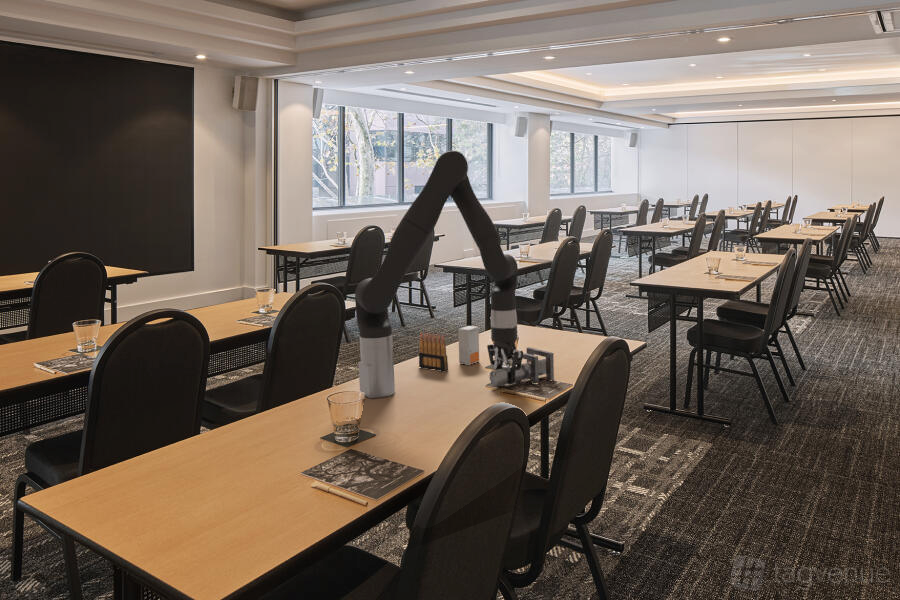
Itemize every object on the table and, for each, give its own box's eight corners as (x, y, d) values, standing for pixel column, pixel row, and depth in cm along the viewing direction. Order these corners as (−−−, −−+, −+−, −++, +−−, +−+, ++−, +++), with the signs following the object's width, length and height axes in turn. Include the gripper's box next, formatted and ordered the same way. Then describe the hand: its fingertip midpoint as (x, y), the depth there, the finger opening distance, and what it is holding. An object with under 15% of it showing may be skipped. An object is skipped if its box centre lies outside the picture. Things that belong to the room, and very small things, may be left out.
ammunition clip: (419, 367, 240) (417, 331, 238) (422, 366, 241) (420, 330, 239) (444, 372, 233) (443, 335, 231) (448, 370, 235) (446, 333, 233)
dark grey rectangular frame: (550, 381, 218) (550, 353, 216) (527, 374, 226) (526, 347, 225) (553, 380, 218) (553, 353, 217) (530, 373, 227) (529, 347, 226)
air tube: (499, 387, 210) (499, 371, 210) (489, 384, 214) (489, 369, 213) (551, 374, 222) (551, 359, 221) (541, 372, 225) (540, 357, 225)
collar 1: (535, 385, 214) (535, 357, 213) (512, 378, 223) (511, 351, 222) (538, 384, 215) (538, 356, 214) (515, 377, 224) (514, 350, 222)
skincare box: (469, 366, 239) (468, 330, 237) (458, 364, 242) (457, 328, 240) (480, 362, 244) (479, 326, 242) (469, 360, 247) (468, 325, 245)
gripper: (478, 322, 215) (480, 379, 218) (509, 329, 204) (511, 389, 206) (498, 319, 220) (500, 374, 222) (530, 326, 208) (531, 384, 211)
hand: (505, 381), depth 214 cm, fingers closed on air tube, 4 cm apart
